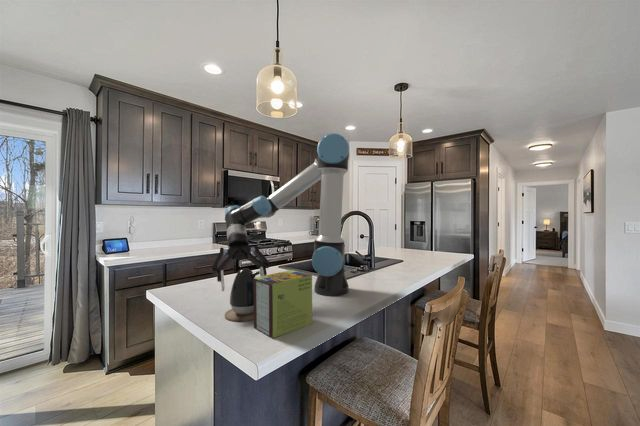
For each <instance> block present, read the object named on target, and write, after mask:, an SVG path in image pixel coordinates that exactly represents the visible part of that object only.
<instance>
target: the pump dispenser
mask: <svg viewBox="0 0 640 426" xmlns="http://www.w3.org/2000/svg"><path fill="white" fill-rule="evenodd" d="M258 275H260V270H257V271H254V272H253V271H252V270H251V269H250V268H247V267H244V268H241V269H240V270H238V271H237V273H236V275H235V277H234V279H233V283H232V286H231V288H230V295H229V304H230V307H231V309H233V311H234V312H235V313H237V314H240V315H248V314H251V313H253V312H254V284H253V278H255V277H256V276H258Z"/></svg>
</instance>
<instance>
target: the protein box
mask: <svg viewBox="0 0 640 426" xmlns="http://www.w3.org/2000/svg"><path fill="white" fill-rule="evenodd" d="M253 284H254V320H253V328H254V329H255V330H257V331H258V332H260V333H262V334H264V335H266V336H267V337H268V338H271V339H275V338H278V337H281V336H283V335H286V334H288V333H290V332H294V331H296V330H299V329H301V328H303V327H305V326H309V325H312V323H313V275H312V273H311V274H310V273H306V272H301V271H298V270H293V269H289V270H285V271H281V272H275V273H274V272H273V273H270V274H266V275H265V276H260V275H259V276H257V277H256V276H255V278H253Z"/></svg>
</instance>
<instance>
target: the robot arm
mask: <svg viewBox="0 0 640 426" xmlns="http://www.w3.org/2000/svg"><path fill="white" fill-rule="evenodd" d="M349 145H350V144H349V143H348V141H347V139H346V138H345V137H344V136H343V135H340V134H339V133H333V132H332V133H328V134H326V135H324V136H322V138H320V140H319V141H318V144H317V147H316V152H317V157H316V158H315V159H314V162H313V163H311V164H310V165H309V166H308V167H306V168H304V170H302V171H301V172H299V173H298V174H296V175H295V176H294V177H293V178H292V179H290V180H289V181H287V182H286V183H285V184H284V185H282V186H281V187H280V188H278V189H277V190H275V191H274V192H273V193H271V194H270V195H269V196H268V197H267V196H264V195H260V196H258V197H255V198H253V199H252V200H250V201H249V202H247V203H245V204H244V205H242V206H239V205H236V204H235V205H230V206H228V207H227V208H226V209H225V211H224V221H225V228H226V238H227V248H224V247H220V248H219V253H218V255H217V256H216V259H215V260H214V263H213V264H212V265H211V269H210V272H211V274H216V277H217V278H216V281H217V283H220V286H221V292H224V291H225V289H226V288H225V287H226V286H225V276H224V270H226V268H227V266H228V265H229V264H231V262H233V261H234V260H235V261H238V260H247V261H250V262H251V263H252V264H253V265H255V266H256V267H257V268H258V269H259V272H260V274H259V277H260V276H265V275H268V273H267V269H269V268H270V265H271V263H270V261H269V260H268V259H267V258H266V256H264V254H263V253H262V252H261V251H260V249H259V246H258V245H254V246H253V247H250V244H249V239H248V234H247V225H248V224H251V223H252V222H254V221H256V220H258V219H264V218H267V219H268V218H271V217H273V216H275V214H276V213H277V212H278V211H279V210H280V209H281V208H283V207H284V206H286V205H287V204H289V203H290V202H292V200H294V199H296V198H297V197H298V196H300V195H301V194H302V193H304V192H305V191H306V190H308V189H309V188H311V187H312V186H313V185H315V184H316V183H317V182H319V181H320V201H319V219H318V220H319V221H318V223H319V224H318V235H317V236H316V237H315V238H314V243H313V245H314V247H313V253H312V256H311V265H312V267H313V269H314V271H315V272H316V273H317V277H316V280H315V283H314V285H313V286H314V290H313V291H314V292H315V293H316V294H318V295H322V296H333V297H334V296H343V295H345V294H348V293H349V289H350V288H349V283H348V280H347V277H346V274H345V273H346V272H345V271H346V270H345V263H346V262H345V260H346V258H345V256H346V255H345V251H346V250H345V247H346V244H345V240H344V239H343V237H341V232H342V231H341V230H342V229H341V228H342V211H343V194H344V193H343V192H344V176H345V174H347V173H348V169H349V159H350V151H349V150H350V146H349ZM252 253H253V254H254V255H253V254H252ZM226 254H228V256H227V257H226V258H225V260H223V257H224V256H225V255H226ZM222 260H223V262H221V261H222Z"/></svg>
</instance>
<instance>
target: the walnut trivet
mask: <svg viewBox="0 0 640 426" xmlns="http://www.w3.org/2000/svg"><path fill="white" fill-rule="evenodd" d="M224 319H225V320H227V321H230V322H236V323H237V322H238V323H242V322H243V323H244V322H250V321H254V312H253V313H251V314H248V315H240V314H237V313H235V312H234V311H233V309H232V308H231V309H228V310H227V311H225V313H224Z"/></svg>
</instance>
